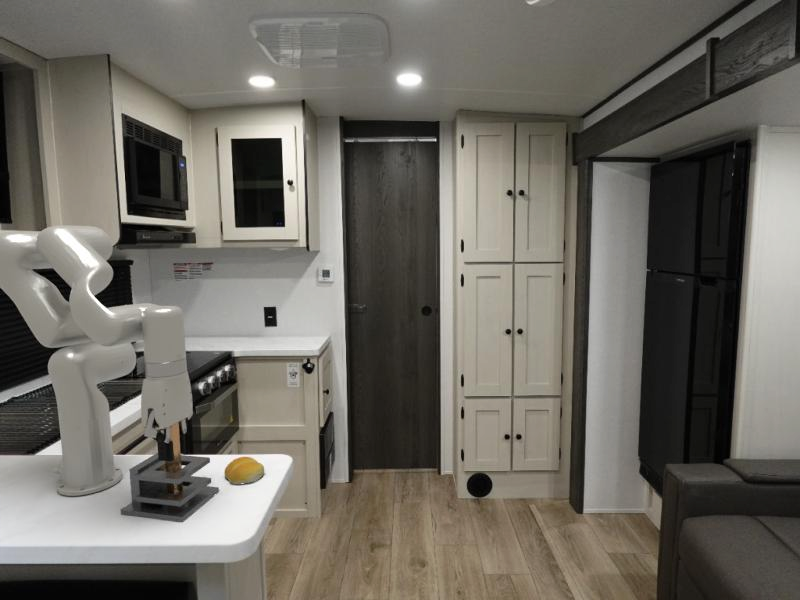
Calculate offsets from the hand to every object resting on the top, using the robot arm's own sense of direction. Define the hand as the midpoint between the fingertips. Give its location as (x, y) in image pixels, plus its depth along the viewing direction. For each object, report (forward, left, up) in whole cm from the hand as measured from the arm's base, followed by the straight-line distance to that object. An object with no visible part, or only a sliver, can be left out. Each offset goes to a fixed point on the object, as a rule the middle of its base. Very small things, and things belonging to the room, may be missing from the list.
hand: (172, 455), depth 102 cm
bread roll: (+8, +14, -11) cm, 19 cm away
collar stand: (0, 0, -10) cm, 10 cm away
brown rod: (0, 0, -8) cm, 8 cm away
